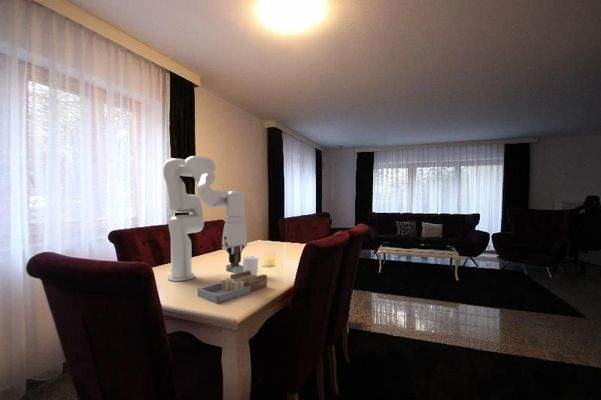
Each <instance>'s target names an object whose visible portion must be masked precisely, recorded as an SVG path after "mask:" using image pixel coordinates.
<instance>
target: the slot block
mask: <svg viewBox="0 0 601 400" xmlns="http://www.w3.org/2000/svg"><path fill="white" fill-rule="evenodd" d="M230 278H231V279H234V280H235V281H236V280H240V281H243V282H244V287H246V286H250V293H249V294H251V293H253V292H256V291H260V290H262V289H266V288H267V287H268V282H267V280H268V279H267V278H268V275H267V274H260V275H257V276H256V275H252V274H251V271H244V272H241V273H237V274H236V273H232V274H230Z"/></svg>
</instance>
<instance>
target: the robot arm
mask: <svg viewBox="0 0 601 400" xmlns="http://www.w3.org/2000/svg"><path fill="white" fill-rule="evenodd" d="M162 169H163V170H162V173H163V178H164V181H165V185H166V188H167V196H168V197H167V198H168V203H169V209H170V211H171V212H172V213H176V214H177V213H180V214H179V215H175V216H172V217H171V218H170V219H169V221H168V230H169V234H170V270H169V271H170V274H169V275H168V276H167V280H168V281H171V282H182V281H187V280H192V279H194V278H195V276H196V274H195V273H194V272H192V268H193V267H192V240H191V238H190V237H189V235H188V234H193V233H195V234H196V233H199V232H201V231H202V230H203V229H204V228H205V227H204V226H205V222H204V221H205V220H204V211H203V205H202V202H203V203H204V205H206V206H207V207H208V208H211V209H217V208H218V209H220V208H223V209H224V208H226V223H224V226H223V229H222V230H223V231H222V238H221V245H222V246H221V249H222V250H224V251H226V252H227V253H228V263H230V264H231V263H235V254H234V247H235V246H239V263H241V262H242V253H243V250H244V249H245V248H247V246H248V242H247V239H248V235H247V232H248V231H247V225H246V222H245V221H246V219H247V217H246V216H245V207H246V206H245V198H246V197H245V196H246V195H245V192H243V191H237V190H235V191H231V190H218V189H217V190H214V189H212V187H210V186H211V185H212V184H213V183H214V182H215V180H216V174H215V170H216V164H215V161H213V159H212V158H211V157H204V156H199V155H192V156H189V157H187V158H186V159H183V158H170V159H167V160H166V161H165V162H164V164H163V167H162ZM181 177H190V178H191V177H193V179H194V180H195V181H196V182H197V193H198V195H197V194H193V193H192V194H191V193H190V194H189V193H187V190H186V188H187V187H186V184H185V182H184V181H183V180H182V178H181ZM181 213H182V214H181ZM183 213H188V214H183Z"/></svg>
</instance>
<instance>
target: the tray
mask: <svg viewBox="0 0 601 400" xmlns="http://www.w3.org/2000/svg"><path fill="white" fill-rule="evenodd" d="M248 294H251V293H250V286H246V287H243V288H240V289H236V290H233V291H231V290H229V291H225V290H222V281H221V282H217V283H214V284H211V285H206V286H203V287H198V288H197V296H198V298H199V297H200V298H202V299H205V300H206V301H209V302H212V303H214V304H217V305H219V304H221V303H224V302H227V301H231V300H235V299H237V298H240V297H242V296H245V295H248Z"/></svg>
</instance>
